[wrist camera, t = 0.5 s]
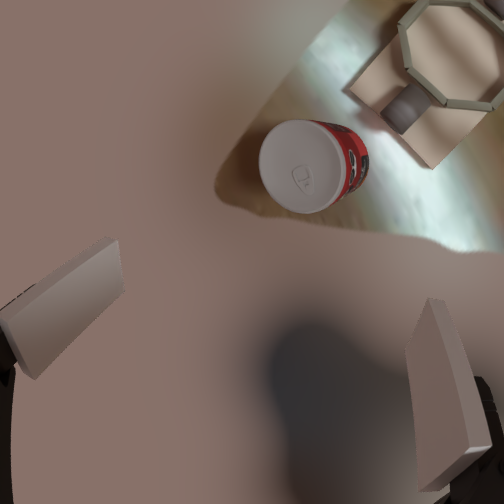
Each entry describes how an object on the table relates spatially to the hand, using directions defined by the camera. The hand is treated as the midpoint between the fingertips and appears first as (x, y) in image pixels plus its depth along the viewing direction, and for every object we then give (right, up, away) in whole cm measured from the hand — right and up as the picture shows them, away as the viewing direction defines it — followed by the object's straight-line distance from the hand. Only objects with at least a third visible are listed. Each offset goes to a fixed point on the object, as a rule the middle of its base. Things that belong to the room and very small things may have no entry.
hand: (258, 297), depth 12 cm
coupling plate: (+21, +22, +9) cm, 32 cm away
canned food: (+9, +12, +21) cm, 26 cm away
